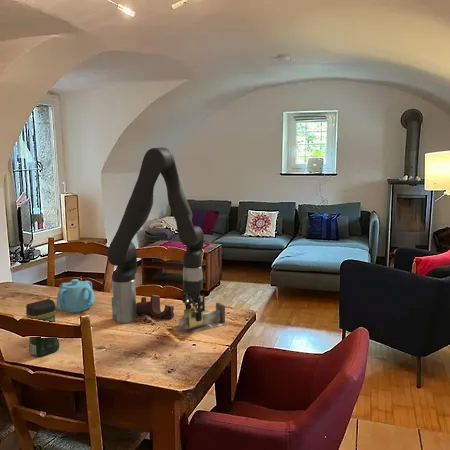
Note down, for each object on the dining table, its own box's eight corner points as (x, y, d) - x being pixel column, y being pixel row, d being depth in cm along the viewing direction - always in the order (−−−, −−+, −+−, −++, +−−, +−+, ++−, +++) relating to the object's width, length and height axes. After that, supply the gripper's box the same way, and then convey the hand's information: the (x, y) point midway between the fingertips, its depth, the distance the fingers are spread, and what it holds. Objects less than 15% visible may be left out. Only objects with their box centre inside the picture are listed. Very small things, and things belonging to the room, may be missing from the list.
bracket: (169, 317, 188) (169, 292, 191) (134, 320, 194) (134, 296, 197) (177, 318, 193) (176, 294, 196) (142, 320, 200) (142, 297, 202)
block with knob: (189, 327, 179) (189, 311, 178) (184, 324, 182) (184, 307, 181) (203, 324, 182) (202, 308, 181) (197, 321, 186) (197, 305, 184)
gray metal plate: (197, 320, 192) (197, 317, 192) (190, 315, 197) (190, 313, 197) (213, 316, 196) (213, 314, 196) (206, 312, 201) (206, 309, 201)
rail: (183, 337, 175) (183, 317, 173) (172, 328, 183) (171, 309, 182) (228, 326, 185) (228, 307, 184) (215, 318, 193) (215, 300, 192)
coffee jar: (52, 344, 170) (48, 295, 167) (62, 350, 164) (59, 300, 161) (25, 352, 163) (21, 302, 160) (35, 359, 157) (31, 307, 154)
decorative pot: (60, 304, 213) (58, 275, 211) (96, 301, 216) (95, 273, 213) (54, 317, 197) (52, 286, 195) (93, 314, 200) (91, 283, 197)
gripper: (175, 274, 183) (176, 314, 186) (192, 283, 171) (193, 325, 174) (192, 272, 187) (193, 310, 190) (210, 280, 175) (210, 321, 178)
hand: (193, 317), depth 182 cm, fingers open, 8 cm apart
